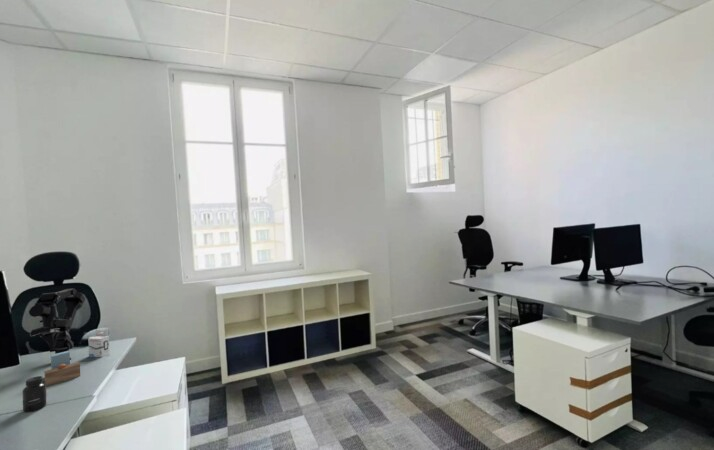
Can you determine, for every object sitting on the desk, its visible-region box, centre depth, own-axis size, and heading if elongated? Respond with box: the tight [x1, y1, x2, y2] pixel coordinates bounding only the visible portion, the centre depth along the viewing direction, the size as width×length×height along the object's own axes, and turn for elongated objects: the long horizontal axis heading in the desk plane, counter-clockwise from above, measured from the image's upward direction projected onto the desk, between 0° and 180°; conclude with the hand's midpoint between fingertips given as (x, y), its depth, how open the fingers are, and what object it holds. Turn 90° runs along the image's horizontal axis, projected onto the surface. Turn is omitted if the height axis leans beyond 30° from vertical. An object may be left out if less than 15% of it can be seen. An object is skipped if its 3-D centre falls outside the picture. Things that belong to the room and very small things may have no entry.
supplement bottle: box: [22, 375, 47, 413], centre depth 130 cm, size 7×7×12 cm
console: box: [42, 361, 81, 387], centre depth 155 cm, size 13×12×8 cm
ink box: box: [87, 329, 111, 358], centre depth 180 cm, size 8×5×15 cm, turn 84°
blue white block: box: [50, 350, 71, 369], centre depth 156 cm, size 4×6×11 cm, turn 140°
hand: (53, 346), depth 164 cm, fingers closed
